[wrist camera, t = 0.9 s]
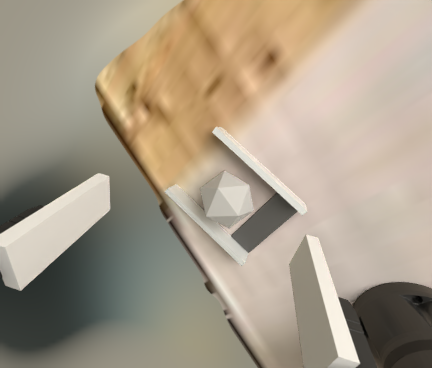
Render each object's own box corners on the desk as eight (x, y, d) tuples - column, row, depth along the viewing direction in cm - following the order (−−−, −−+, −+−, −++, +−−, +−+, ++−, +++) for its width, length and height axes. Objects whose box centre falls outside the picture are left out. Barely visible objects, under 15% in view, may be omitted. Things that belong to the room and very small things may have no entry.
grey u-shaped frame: (305, 203, 36) (307, 211, 33) (244, 255, 42) (241, 266, 38) (221, 127, 37) (215, 127, 34) (173, 187, 43) (164, 192, 40)
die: (211, 213, 42) (229, 247, 34) (186, 183, 38) (199, 214, 30) (245, 188, 42) (271, 216, 34) (224, 155, 38) (248, 179, 30)
